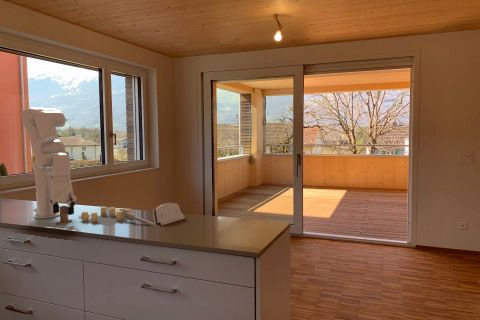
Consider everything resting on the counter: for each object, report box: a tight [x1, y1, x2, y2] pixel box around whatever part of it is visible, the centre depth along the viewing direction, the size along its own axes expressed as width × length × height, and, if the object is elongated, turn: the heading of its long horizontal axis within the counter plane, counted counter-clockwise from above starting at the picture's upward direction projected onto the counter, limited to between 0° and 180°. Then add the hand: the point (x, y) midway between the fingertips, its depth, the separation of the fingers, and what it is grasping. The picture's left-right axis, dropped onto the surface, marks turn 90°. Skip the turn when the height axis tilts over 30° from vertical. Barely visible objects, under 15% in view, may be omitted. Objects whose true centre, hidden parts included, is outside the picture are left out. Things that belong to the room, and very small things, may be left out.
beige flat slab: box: [152, 202, 185, 226], centre depth 182 cm, size 17×5×10 cm, turn 146°
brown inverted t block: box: [55, 205, 73, 226], centre depth 177 cm, size 3×7×9 cm, turn 160°
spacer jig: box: [79, 206, 132, 226], centre depth 183 cm, size 20×18×5 cm
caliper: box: [122, 210, 157, 227], centre depth 176 cm, size 20×1×6 cm, turn 67°
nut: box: [78, 213, 91, 219], centre depth 189 cm, size 5×6×2 cm
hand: (63, 213), depth 176 cm, fingers open, 9 cm apart
